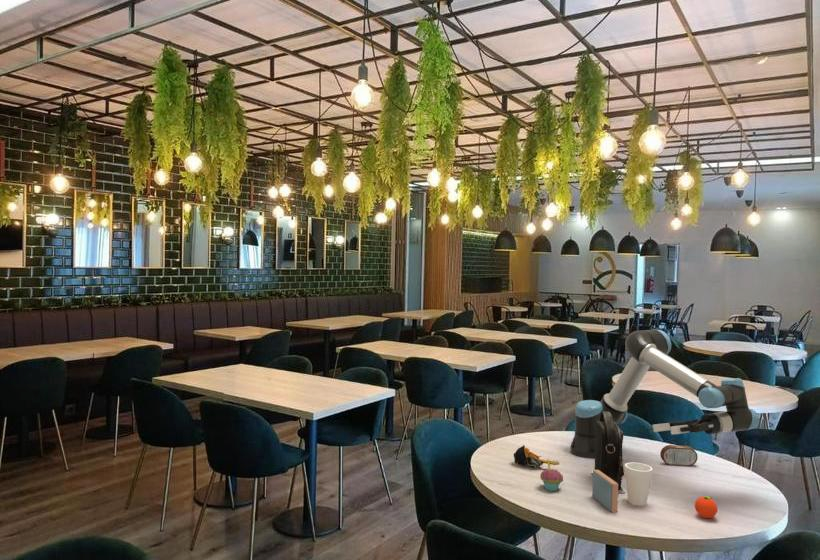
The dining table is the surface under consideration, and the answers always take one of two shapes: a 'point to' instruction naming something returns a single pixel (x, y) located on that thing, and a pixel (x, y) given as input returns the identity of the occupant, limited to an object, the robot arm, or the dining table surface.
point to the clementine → (706, 507)
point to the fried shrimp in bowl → (530, 458)
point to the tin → (678, 455)
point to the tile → (605, 490)
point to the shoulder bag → (609, 449)
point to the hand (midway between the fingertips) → (661, 429)
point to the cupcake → (551, 478)
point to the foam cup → (638, 482)
